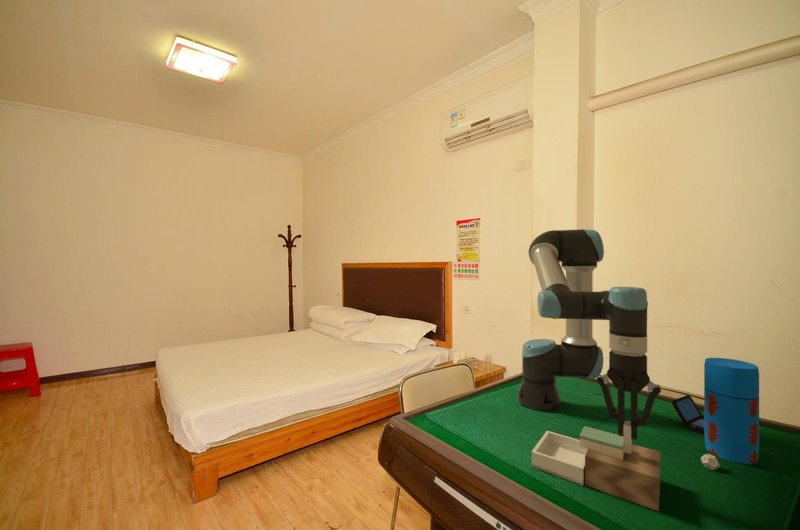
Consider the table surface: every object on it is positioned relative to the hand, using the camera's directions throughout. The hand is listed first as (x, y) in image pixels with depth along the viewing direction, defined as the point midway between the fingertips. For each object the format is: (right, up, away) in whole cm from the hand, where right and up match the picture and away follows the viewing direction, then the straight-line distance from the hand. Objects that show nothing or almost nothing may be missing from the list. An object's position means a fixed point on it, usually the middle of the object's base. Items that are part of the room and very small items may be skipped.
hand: (627, 450), depth 82 cm
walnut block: (-1, -8, +1) cm, 8 cm away
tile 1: (-6, -1, +4) cm, 8 cm away
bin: (-11, -8, +9) cm, 16 cm away
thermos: (+37, -8, +13) cm, 40 cm away
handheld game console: (+43, -8, +29) cm, 52 cm away
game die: (+26, -8, +6) cm, 28 cm away
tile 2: (-3, -1, +2) cm, 3 cm away
